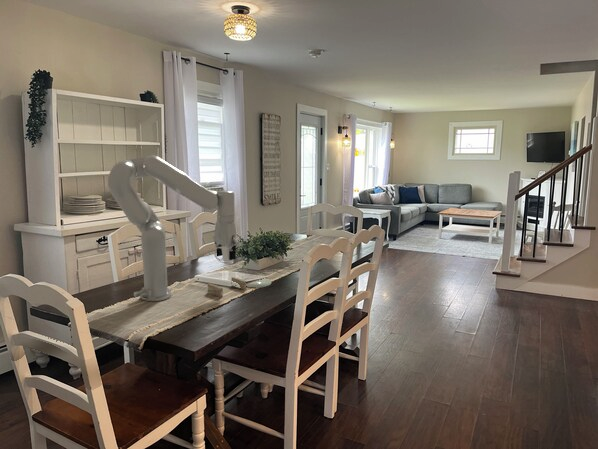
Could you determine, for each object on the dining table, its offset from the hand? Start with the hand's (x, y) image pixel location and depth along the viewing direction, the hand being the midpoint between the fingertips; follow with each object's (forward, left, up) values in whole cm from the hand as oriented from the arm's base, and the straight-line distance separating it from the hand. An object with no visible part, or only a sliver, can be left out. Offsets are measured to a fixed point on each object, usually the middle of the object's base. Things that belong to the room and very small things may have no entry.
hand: (226, 257), depth 202 cm
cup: (0, 0, -3) cm, 3 cm away
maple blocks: (0, 0, -16) cm, 16 cm away
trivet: (+17, -1, -16) cm, 23 cm away
